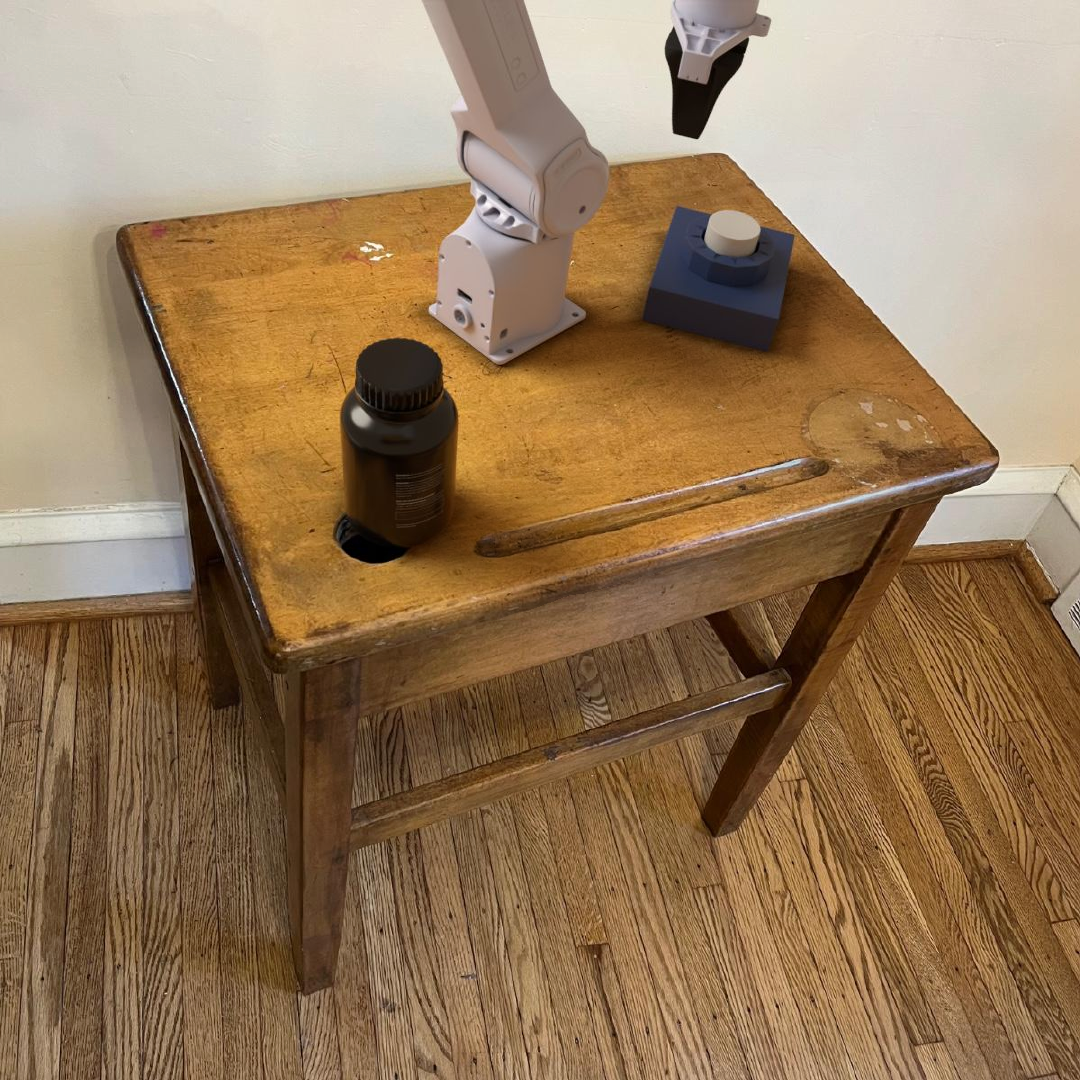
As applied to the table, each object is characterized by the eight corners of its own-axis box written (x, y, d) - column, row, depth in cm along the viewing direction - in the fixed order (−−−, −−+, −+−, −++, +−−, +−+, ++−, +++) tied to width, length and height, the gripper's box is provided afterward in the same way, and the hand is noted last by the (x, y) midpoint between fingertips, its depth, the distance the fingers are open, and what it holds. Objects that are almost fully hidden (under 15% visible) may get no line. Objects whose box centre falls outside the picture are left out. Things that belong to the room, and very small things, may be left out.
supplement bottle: (460, 480, 70) (472, 335, 61) (444, 560, 66) (454, 415, 56) (356, 465, 70) (352, 317, 61) (332, 543, 65) (324, 396, 56)
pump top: (751, 264, 82) (757, 244, 81) (700, 251, 82) (705, 232, 81) (757, 236, 84) (763, 217, 83) (708, 224, 85) (713, 205, 83)
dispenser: (767, 352, 82) (785, 299, 79) (641, 320, 83) (653, 266, 80) (784, 267, 90) (801, 215, 87) (668, 238, 91) (681, 185, 87)
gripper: (776, -2, 67) (724, 192, 77) (799, -81, 76) (750, 102, 87) (666, -27, 67) (629, 169, 78) (703, -102, 77) (665, 82, 87)
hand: (686, 132), depth 82 cm, fingers closed
